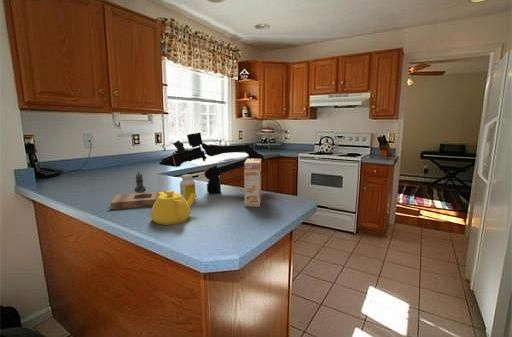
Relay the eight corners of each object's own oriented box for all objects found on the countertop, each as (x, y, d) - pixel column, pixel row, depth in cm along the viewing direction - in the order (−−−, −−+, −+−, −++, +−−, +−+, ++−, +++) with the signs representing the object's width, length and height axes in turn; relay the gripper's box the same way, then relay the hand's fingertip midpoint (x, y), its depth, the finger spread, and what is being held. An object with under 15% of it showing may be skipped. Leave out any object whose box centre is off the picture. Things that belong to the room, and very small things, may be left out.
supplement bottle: (198, 201, 123) (197, 174, 121) (189, 205, 117) (188, 177, 115) (187, 199, 126) (186, 173, 124) (177, 203, 120) (176, 175, 118)
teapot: (211, 218, 101) (210, 190, 99) (165, 232, 88) (163, 200, 86) (184, 206, 115) (183, 182, 113) (142, 217, 102) (140, 189, 101)
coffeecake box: (260, 206, 115) (260, 162, 111) (243, 206, 115) (243, 162, 112) (261, 197, 129) (261, 158, 126) (247, 197, 130) (246, 158, 127)
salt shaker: (136, 193, 137) (134, 171, 135) (148, 193, 138) (146, 170, 136) (132, 196, 132) (130, 173, 130) (144, 196, 132) (142, 172, 130)
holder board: (170, 196, 132) (170, 190, 131) (170, 204, 118) (169, 198, 118) (118, 200, 125) (117, 194, 124) (111, 209, 111) (110, 202, 111)
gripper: (187, 138, 140) (158, 144, 137) (187, 140, 122) (153, 148, 119) (193, 158, 142) (164, 165, 139) (193, 163, 124) (160, 171, 121)
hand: (160, 162), depth 130 cm, fingers open, 9 cm apart
